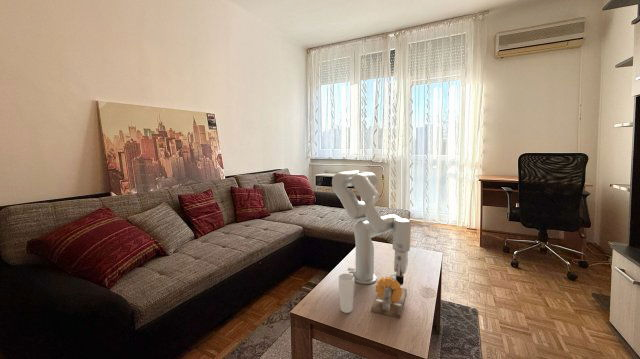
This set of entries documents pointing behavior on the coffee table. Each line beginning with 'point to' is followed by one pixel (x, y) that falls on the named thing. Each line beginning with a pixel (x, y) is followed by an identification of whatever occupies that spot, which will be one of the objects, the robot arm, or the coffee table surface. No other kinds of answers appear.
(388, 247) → the coffee table surface
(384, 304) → the pipe stand
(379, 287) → the collar
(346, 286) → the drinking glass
